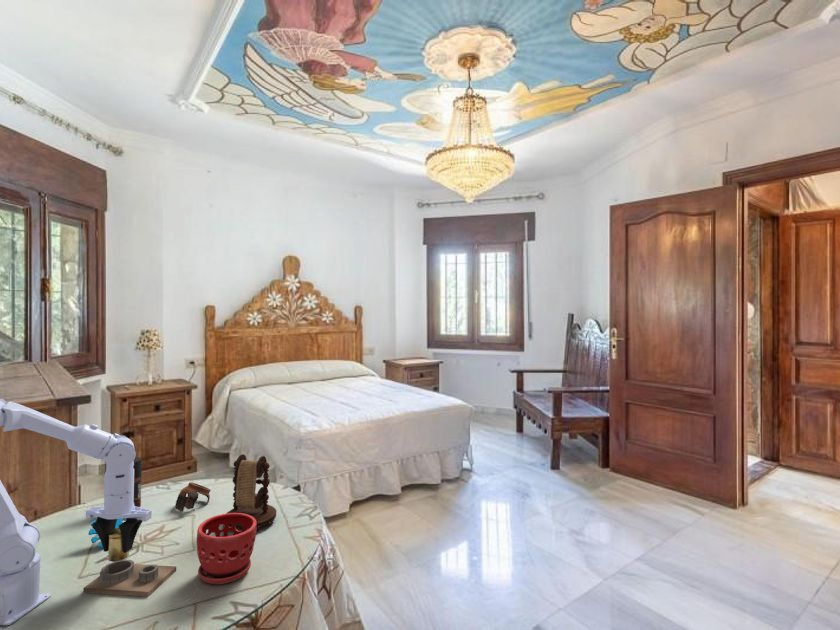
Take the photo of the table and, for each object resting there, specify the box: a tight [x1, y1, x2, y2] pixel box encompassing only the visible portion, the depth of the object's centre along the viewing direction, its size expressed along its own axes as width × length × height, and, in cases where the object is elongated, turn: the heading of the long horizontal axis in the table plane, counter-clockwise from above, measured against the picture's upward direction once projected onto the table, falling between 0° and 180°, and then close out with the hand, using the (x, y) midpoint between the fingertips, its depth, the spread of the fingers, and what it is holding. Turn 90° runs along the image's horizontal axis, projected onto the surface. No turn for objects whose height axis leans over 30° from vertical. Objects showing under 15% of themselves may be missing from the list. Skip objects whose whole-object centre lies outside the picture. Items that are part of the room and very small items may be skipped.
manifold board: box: [83, 559, 177, 597], centre depth 103 cm, size 10×15×3 cm, turn 86°
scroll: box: [225, 453, 277, 533], centre depth 133 cm, size 15×15×20 cm
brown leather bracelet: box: [174, 482, 211, 512], centre depth 144 cm, size 12×10×8 cm
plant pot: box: [196, 512, 257, 585], centre depth 107 cm, size 13×13×12 cm
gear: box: [87, 519, 126, 549], centre depth 122 cm, size 11×6×10 cm
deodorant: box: [133, 457, 143, 508], centre depth 142 cm, size 6×6×15 cm
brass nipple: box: [107, 528, 130, 563], centre depth 104 cm, size 4×4×6 cm
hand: (118, 549), depth 104 cm, fingers closed on brass nipple, 4 cm apart
